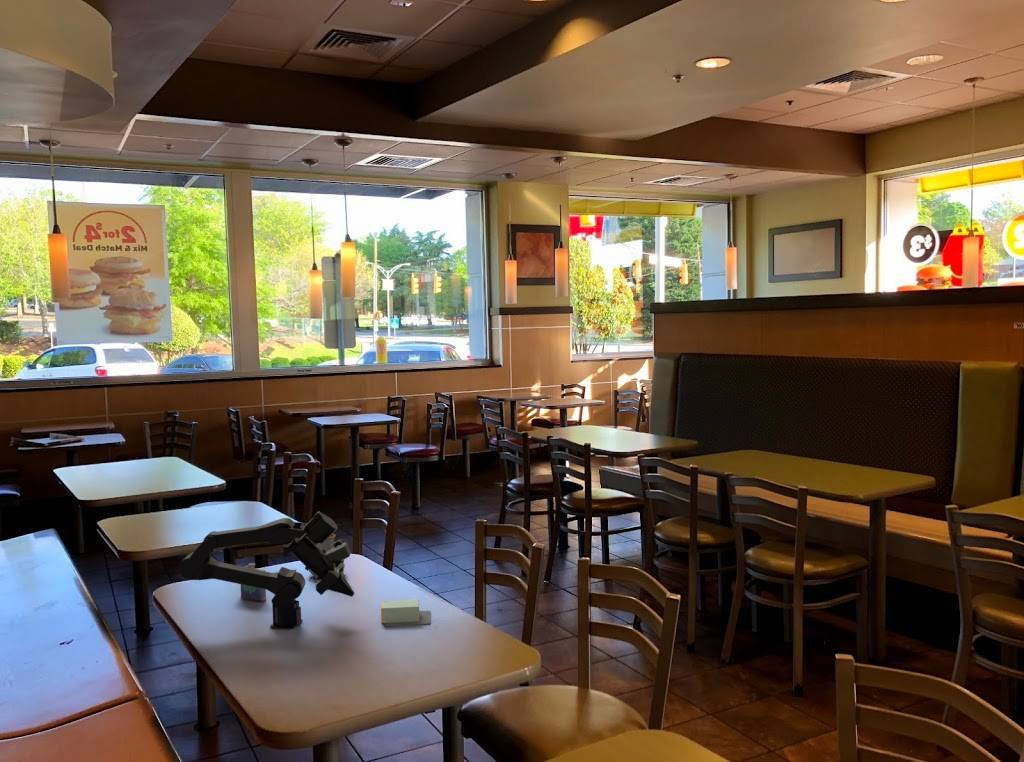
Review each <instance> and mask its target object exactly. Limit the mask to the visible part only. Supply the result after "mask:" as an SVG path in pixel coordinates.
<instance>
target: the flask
mask: <svg viewBox="0 0 1024 762" xmlns="http://www.w3.org/2000/svg"><path fill="white" fill-rule="evenodd" d="M255 566H256V563H255V562H253V563H252V562H251V563H248V565H246V566H244V567H246V568H251V569H255V570H260V571H265V572H266V570H265V569H260V568H255ZM240 598H241V599H242V600H246V601H252V602H257V603H259V602H260V603H263V602H265V601H267V590H266V589H262V588H257V587H252V586H247V585H242V584H240Z"/></svg>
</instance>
